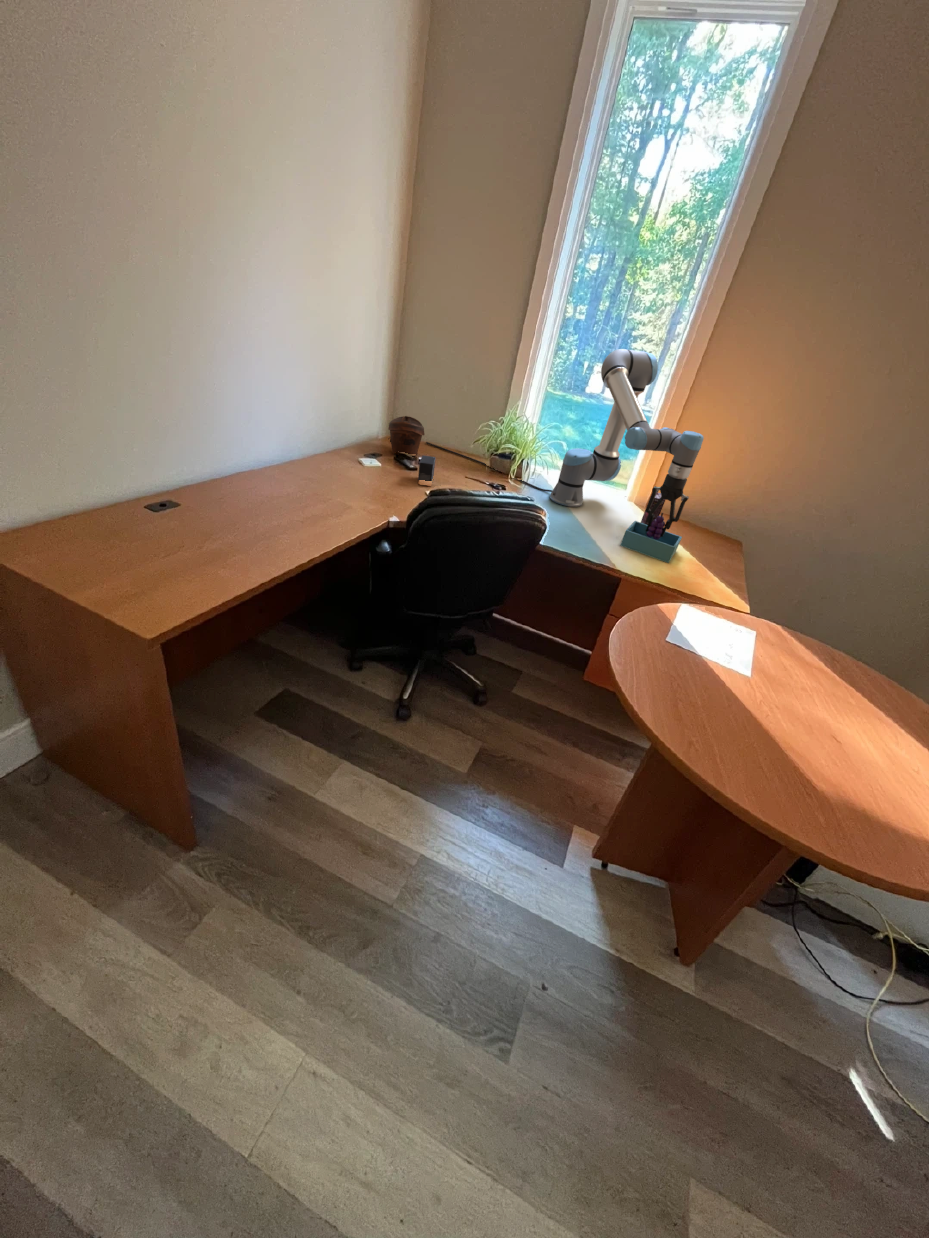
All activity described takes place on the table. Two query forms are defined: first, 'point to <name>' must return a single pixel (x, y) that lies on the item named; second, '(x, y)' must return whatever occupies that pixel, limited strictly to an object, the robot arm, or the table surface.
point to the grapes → (656, 527)
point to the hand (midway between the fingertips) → (654, 533)
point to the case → (405, 434)
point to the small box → (426, 468)
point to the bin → (650, 542)
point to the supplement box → (657, 511)
